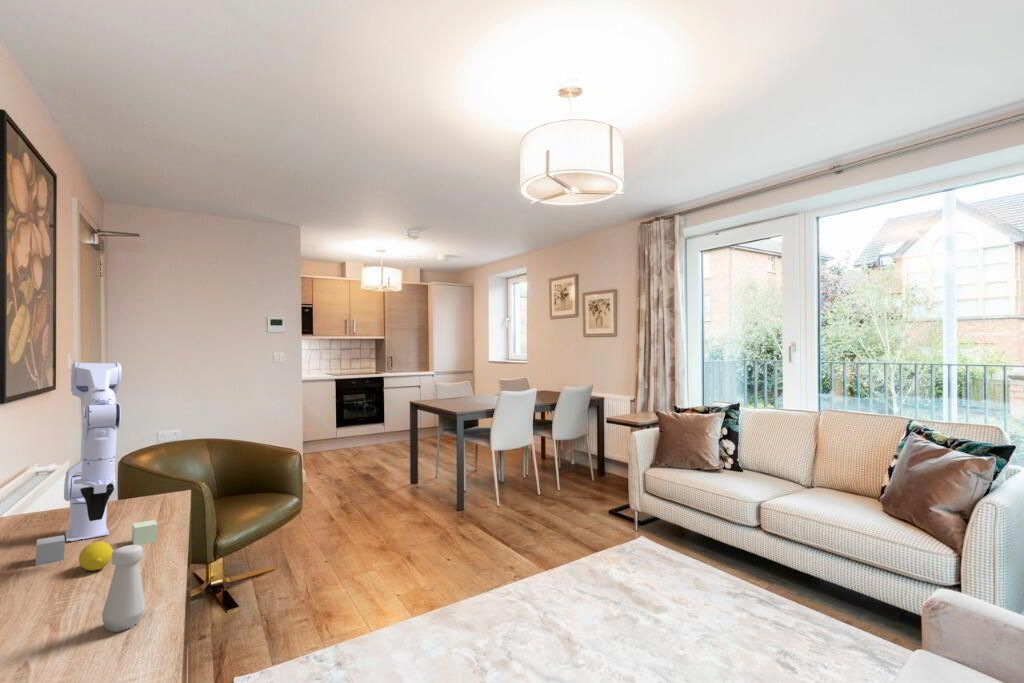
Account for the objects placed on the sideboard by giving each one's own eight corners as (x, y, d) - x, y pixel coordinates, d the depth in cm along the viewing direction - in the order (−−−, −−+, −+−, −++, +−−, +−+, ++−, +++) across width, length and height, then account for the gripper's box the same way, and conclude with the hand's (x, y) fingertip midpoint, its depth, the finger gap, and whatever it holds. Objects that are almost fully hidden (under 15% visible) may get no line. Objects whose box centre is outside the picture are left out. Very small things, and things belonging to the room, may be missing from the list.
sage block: (131, 541, 120) (132, 523, 120) (154, 537, 123) (154, 519, 124) (133, 547, 117) (134, 528, 117) (156, 542, 120) (157, 524, 120)
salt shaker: (96, 638, 78) (100, 556, 79) (106, 621, 83) (110, 544, 84) (141, 629, 81) (145, 550, 82) (147, 613, 86) (152, 539, 87)
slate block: (35, 560, 109) (36, 539, 109) (62, 554, 112) (64, 535, 112) (35, 566, 105) (36, 545, 106) (63, 560, 108) (64, 540, 109)
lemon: (88, 568, 106) (91, 581, 101) (71, 550, 104) (74, 562, 99) (116, 549, 110) (121, 561, 104) (100, 531, 108) (104, 542, 102)
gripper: (74, 455, 111) (70, 515, 111) (76, 465, 101) (72, 532, 100) (113, 451, 116) (110, 509, 116) (120, 461, 106) (116, 524, 105)
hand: (95, 519), depth 108 cm, fingers closed
